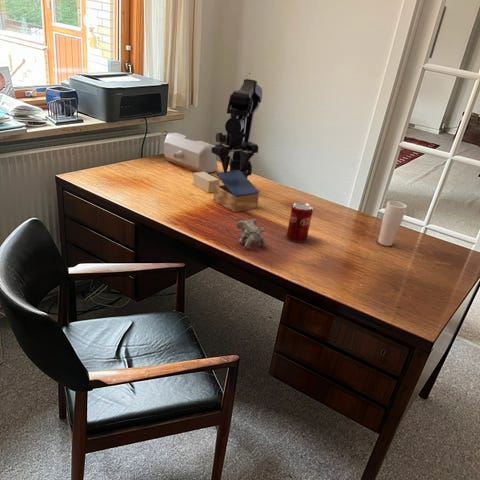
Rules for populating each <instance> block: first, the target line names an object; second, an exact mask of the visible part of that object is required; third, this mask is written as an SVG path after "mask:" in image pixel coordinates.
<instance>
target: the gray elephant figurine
mask: <svg viewBox="0 0 480 480" xmlns="http://www.w3.org/2000/svg"><path fill="white" fill-rule="evenodd" d="M236 229H238V230H240V231H241V232H240V239H239V240H238V243H239V244H240V245H243V244H244V243H245V244H244V249H245V250H249V249H250V246H251V245H252V243H253V244H254V245H255V244H256V243H260V245H261V246H262V247H265V246H266V239H265V238H264V236H263V234H262V233H265V231H266V230H265V227H262V226H261V227H258V226H257V219H256V218H252V219H248V220H239V221H237V222H236ZM245 241H246V242H245Z"/></svg>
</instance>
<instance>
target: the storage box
mask: <svg viewBox="0 0 480 480" xmlns="http://www.w3.org/2000/svg"><path fill="white" fill-rule="evenodd" d="M259 196H260V192H259V193H258V194H252V195H246V196H241V197H235V196H234V195H233V194H232V192H231V191H230V190H229V189H228V188H227V187H226V186H225V185H224V184H219V185H218V186H214V192H213V198H212V200H213V201H214V202H216V203H218V204H220V205H221V206H223V207H225V208H226V209H228V210H229V211H231V212H233V213H238V212H243V211H248V210H253V209H257V208H258V204H259V198H260V197H259Z"/></svg>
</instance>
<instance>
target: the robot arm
mask: <svg viewBox="0 0 480 480" xmlns="http://www.w3.org/2000/svg"><path fill="white" fill-rule="evenodd" d="M262 100H263V88H262V87H261V86H260V85H259V84H258V81H257V80H256V79H251V78H245V79H243V84H242V85H241V87H240V88H239V89H238V90H237V89H235V90H233V91H232V93H231V94H230V96H229V99H228V104H227V110H226V114H228V115H230V117H229V118H228V119H227V120H226V122H225V124H224V128H225V131H226V134H223V132H216V134H215V142H216V143H219V144H212V145H213V146H212V153H214V154H216V156H218V158H219V159H220V163H221V166H222V170H223V172H224V173H226V172H227V171H228V170H229V171H234V170H240V172H241V173H242V174H243V175H244V176H245V177H246V178H247V179H248V177H249V176H252V174H253V173H252V172H253V165H252V160H251V159H252V158H253V156H255V154H258V153H259V145H258V144H256V143H254V142H252V141H250V140H251V134H252V127H253V122H254V116H255V113H256V112H257V110H258V109H260V108H259V107H260V104H262ZM230 153H232V157H231V156H230Z"/></svg>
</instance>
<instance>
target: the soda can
mask: <svg viewBox="0 0 480 480" xmlns="http://www.w3.org/2000/svg"><path fill="white" fill-rule="evenodd" d="M313 211H314V208H313V206H312V205H311V204H309V203H306V202H300V201H298V202H295V203H294V202H293V204H292V205H291V209H290V215H289V220H288V225H287V232H286V238H287V239H288V240H290V241H292V242H295V243H303V242H305V241H307V240H308V236H309V232H310V231H309V230H310V228H311V227H310V226H311V222H312V217H313Z"/></svg>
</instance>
